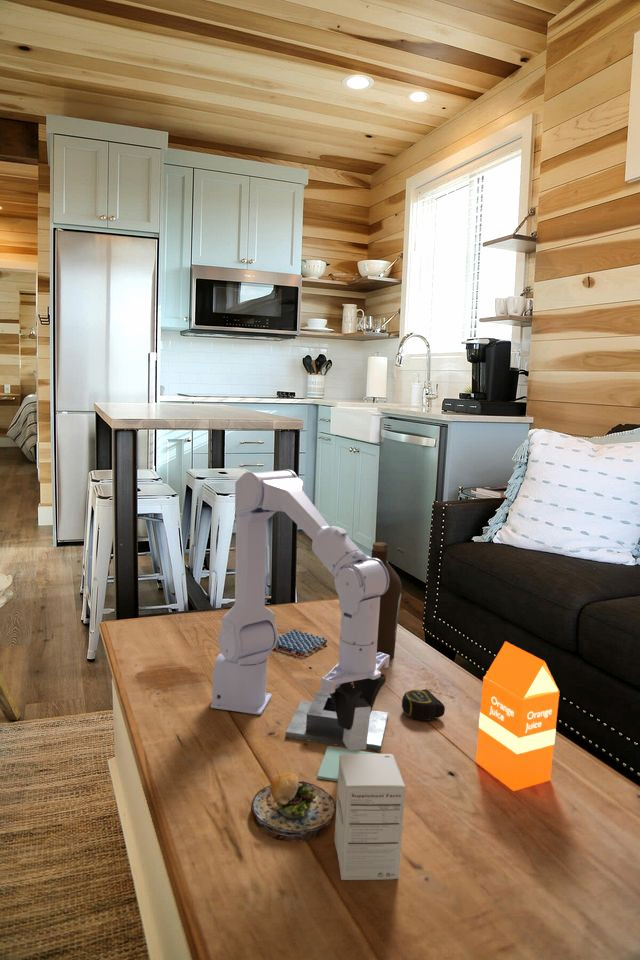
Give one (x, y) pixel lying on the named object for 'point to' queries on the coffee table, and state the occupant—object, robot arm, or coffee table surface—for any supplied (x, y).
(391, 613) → the olive oil
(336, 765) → the mat
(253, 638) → the robot arm
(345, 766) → the supplement box
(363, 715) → the light grey rectangular block
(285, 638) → the woven mat
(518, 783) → the orange juice
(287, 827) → the burger
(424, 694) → the tape measure
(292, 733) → the plate
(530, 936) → the coffee table surface
